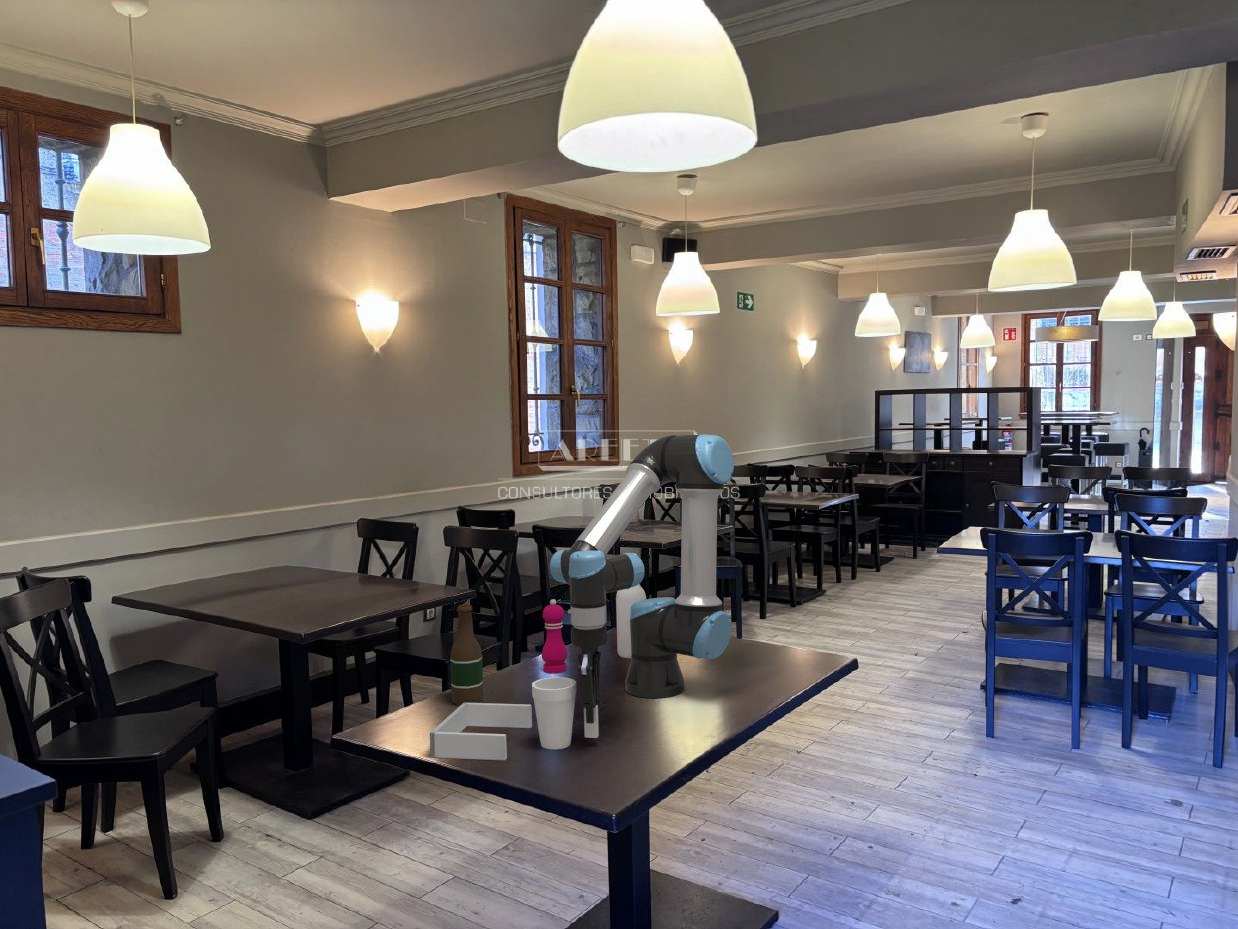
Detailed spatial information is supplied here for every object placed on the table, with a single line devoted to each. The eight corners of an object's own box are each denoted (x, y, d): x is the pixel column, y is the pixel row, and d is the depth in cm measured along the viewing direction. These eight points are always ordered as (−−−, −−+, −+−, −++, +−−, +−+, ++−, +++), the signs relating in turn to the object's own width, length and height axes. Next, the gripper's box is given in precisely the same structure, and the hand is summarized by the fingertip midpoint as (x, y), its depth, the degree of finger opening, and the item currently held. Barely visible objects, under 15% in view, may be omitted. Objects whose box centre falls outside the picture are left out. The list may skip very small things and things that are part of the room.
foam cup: (534, 737, 186) (532, 678, 186) (576, 735, 187) (575, 676, 186) (533, 753, 177) (531, 691, 176) (578, 751, 178) (576, 689, 177)
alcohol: (620, 660, 248) (618, 556, 247) (614, 652, 256) (612, 552, 255) (650, 657, 249) (647, 555, 248) (643, 650, 258) (641, 551, 257)
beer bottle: (468, 708, 207) (465, 610, 206) (445, 703, 211) (441, 607, 210) (490, 699, 214) (487, 604, 213) (466, 695, 218) (463, 601, 217)
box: (532, 726, 193) (531, 704, 193) (505, 760, 173) (504, 736, 173) (464, 724, 196) (463, 702, 196) (430, 757, 176) (429, 733, 176)
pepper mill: (564, 674, 234) (562, 602, 233) (538, 673, 236) (536, 601, 235) (570, 667, 241) (568, 596, 240) (546, 666, 243) (544, 596, 242)
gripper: (577, 618, 187) (580, 725, 187) (564, 632, 174) (567, 747, 175) (611, 618, 185) (614, 726, 186) (600, 633, 172) (603, 748, 173)
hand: (591, 736), depth 180 cm, fingers closed
